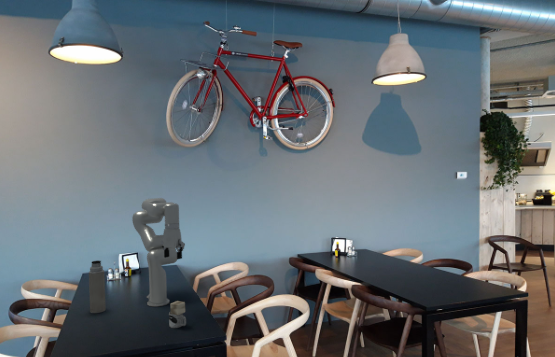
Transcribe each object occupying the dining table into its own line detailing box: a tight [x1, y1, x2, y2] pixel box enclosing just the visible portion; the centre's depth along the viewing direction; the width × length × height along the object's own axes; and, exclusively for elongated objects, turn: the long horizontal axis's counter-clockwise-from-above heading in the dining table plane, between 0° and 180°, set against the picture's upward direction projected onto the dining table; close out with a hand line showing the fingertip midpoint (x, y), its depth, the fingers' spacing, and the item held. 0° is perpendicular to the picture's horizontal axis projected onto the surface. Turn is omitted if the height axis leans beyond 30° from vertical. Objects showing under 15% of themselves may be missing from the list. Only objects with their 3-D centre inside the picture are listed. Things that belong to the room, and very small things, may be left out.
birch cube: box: [169, 300, 186, 315], centre depth 213 cm, size 5×5×5 cm
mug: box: [168, 311, 187, 329], centre depth 213 cm, size 10×7×7 cm
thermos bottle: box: [88, 260, 107, 314], centre depth 239 cm, size 8×8×28 cm
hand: (173, 258), depth 231 cm, fingers open, 9 cm apart
